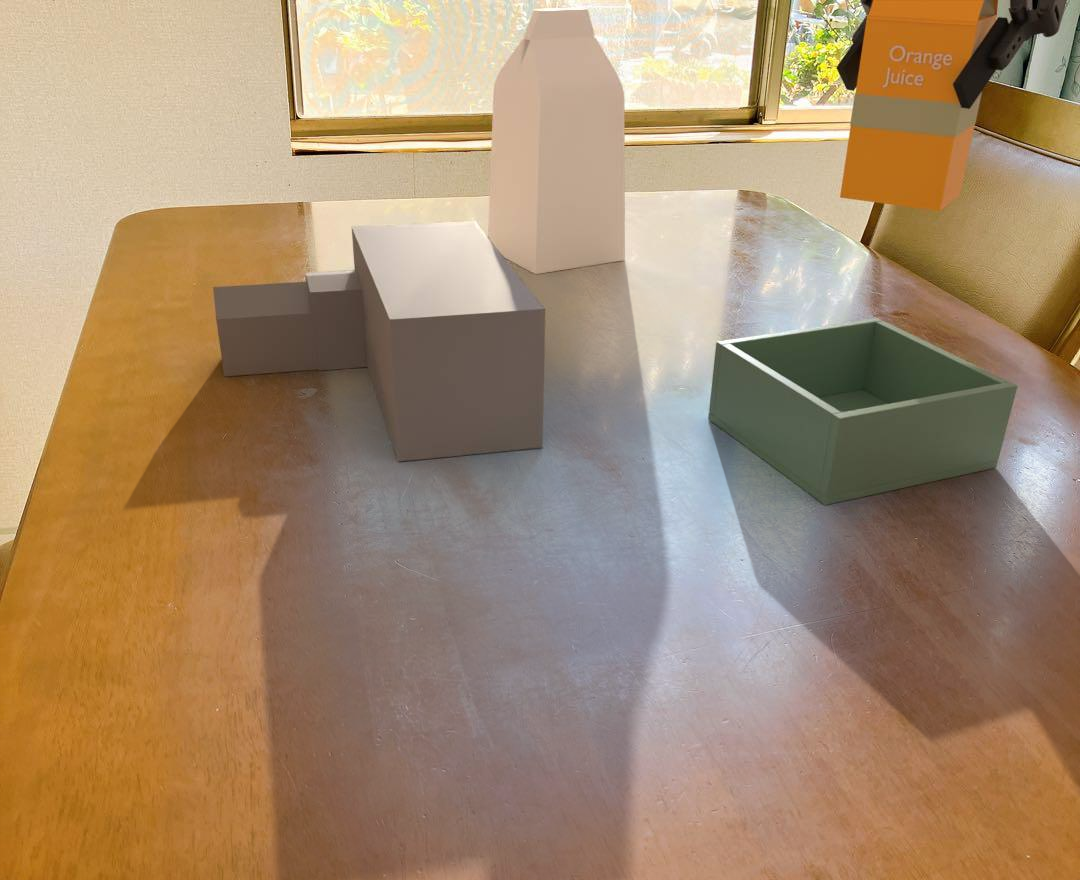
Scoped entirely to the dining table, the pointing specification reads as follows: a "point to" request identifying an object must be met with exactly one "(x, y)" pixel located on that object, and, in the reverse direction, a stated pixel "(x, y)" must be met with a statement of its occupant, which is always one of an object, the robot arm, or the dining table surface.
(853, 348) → the crate
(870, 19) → the orange juice
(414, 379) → the grey stepped block
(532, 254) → the milk
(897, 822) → the dining table surface
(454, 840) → the dining table surface
